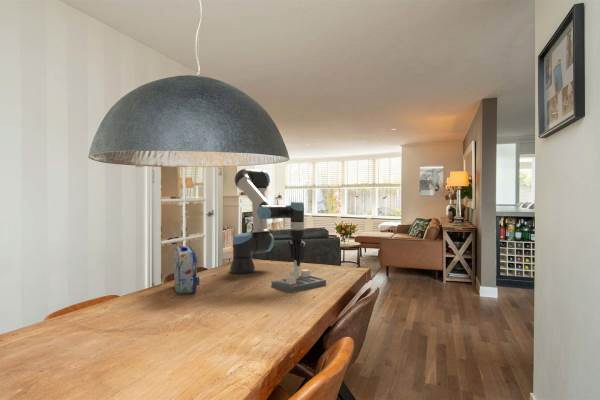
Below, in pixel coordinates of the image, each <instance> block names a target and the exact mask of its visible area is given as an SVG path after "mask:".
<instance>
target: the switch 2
mask: <svg viewBox="0 0 600 400" xmlns="http://www.w3.org/2000/svg"><path fill="white" fill-rule="evenodd" d="M300 276H301V277H310V276H311V270H310V269H306V268H305V269H300Z"/></svg>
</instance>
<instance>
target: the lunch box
mask: <svg viewBox="0 0 600 400" xmlns="http://www.w3.org/2000/svg"><path fill="white" fill-rule="evenodd" d="M173 253H174V255H173V276H174V279H173V280H174V281H173V287H174V290H175V292H176V293H177V294H178V295H181V294H194V293H196V292H197V288H198V286H200V282H201V281H200V276H198V274H197V273H198V270H197V263H198V257H197V254H196V252H195V250H194V249H193V248H192V246H191V245H188V246H185V245H182V246H177V247H175V249H174V252H173Z"/></svg>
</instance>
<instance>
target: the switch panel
mask: <svg viewBox="0 0 600 400" xmlns="http://www.w3.org/2000/svg"><path fill="white" fill-rule="evenodd" d="M322 286H327V279H324V278H322V277H317V276H313V275H310V277H301V275H299V279H296V284H292V285H290V284H287V283H286V278H283V279H278V280H277V279H276V280H272V281H271V287H272V288H273V287H274V288H276V289H279V290H282V291H284V292H285V291H286V292H289V293H295V292H299V291H304V290H308V289H309V290H310V289H314V288H318V287H322Z"/></svg>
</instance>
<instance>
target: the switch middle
mask: <svg viewBox="0 0 600 400" xmlns="http://www.w3.org/2000/svg"><path fill="white" fill-rule="evenodd" d="M289 276H296V279H299V276H300V271H299V272H296V271H294V270H293V271H289Z"/></svg>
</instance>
